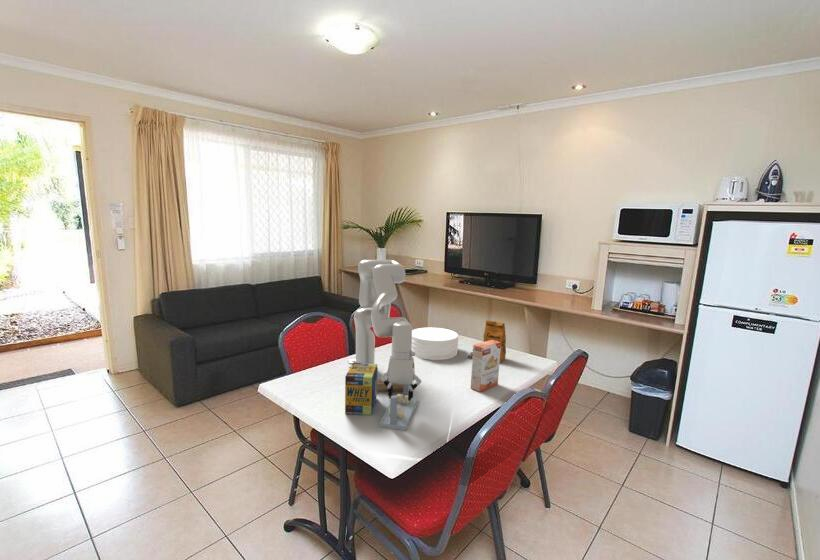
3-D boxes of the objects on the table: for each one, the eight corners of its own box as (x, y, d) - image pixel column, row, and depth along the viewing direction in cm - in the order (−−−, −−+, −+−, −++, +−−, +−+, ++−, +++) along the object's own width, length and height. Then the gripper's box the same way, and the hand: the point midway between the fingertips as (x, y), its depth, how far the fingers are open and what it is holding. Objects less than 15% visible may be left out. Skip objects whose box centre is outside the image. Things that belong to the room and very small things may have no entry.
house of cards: (487, 359, 216) (488, 346, 215) (480, 363, 209) (481, 350, 208) (473, 356, 222) (473, 343, 221) (466, 360, 215) (466, 346, 214)
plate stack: (399, 351, 226) (399, 332, 224) (432, 342, 245) (433, 325, 243) (434, 364, 206) (434, 343, 204) (467, 354, 224) (468, 335, 223)
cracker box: (480, 393, 171) (483, 347, 168) (469, 388, 176) (472, 344, 173) (499, 385, 181) (501, 341, 178) (488, 381, 185) (490, 338, 182)
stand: (379, 426, 140) (379, 396, 138) (395, 398, 163) (395, 372, 162) (405, 430, 138) (406, 400, 136) (418, 401, 161) (419, 375, 160)
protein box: (344, 414, 148) (344, 376, 146) (352, 397, 164) (352, 362, 161) (371, 416, 148) (372, 377, 146) (377, 398, 163) (377, 363, 161)
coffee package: (500, 364, 207) (503, 325, 204) (479, 359, 215) (481, 321, 212) (508, 360, 215) (510, 321, 212) (487, 355, 223) (489, 318, 220)
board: (409, 393, 169) (409, 385, 168) (372, 392, 169) (373, 383, 169) (409, 389, 173) (409, 381, 173) (374, 388, 174) (374, 379, 173)
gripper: (425, 353, 149) (424, 396, 152) (382, 349, 153) (381, 391, 155) (422, 359, 142) (420, 405, 144) (376, 355, 145) (376, 399, 148)
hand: (400, 398), depth 150 cm, fingers open, 7 cm apart
